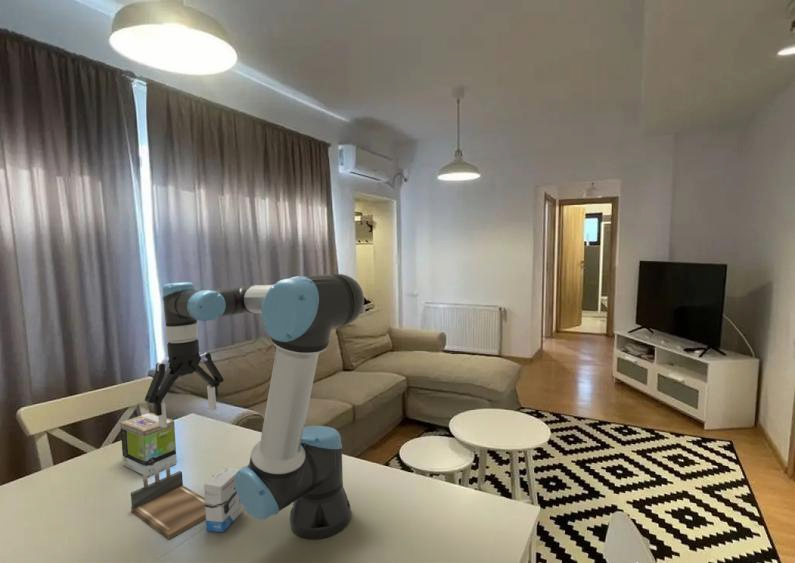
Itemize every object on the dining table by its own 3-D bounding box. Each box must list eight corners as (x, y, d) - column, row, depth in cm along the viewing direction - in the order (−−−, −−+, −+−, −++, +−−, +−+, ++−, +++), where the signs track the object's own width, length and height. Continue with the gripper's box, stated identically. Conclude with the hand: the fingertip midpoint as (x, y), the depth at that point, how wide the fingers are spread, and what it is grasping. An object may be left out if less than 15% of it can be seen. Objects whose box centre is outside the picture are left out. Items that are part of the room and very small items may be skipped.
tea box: (178, 463, 136) (175, 419, 134) (146, 478, 127) (142, 431, 126) (153, 452, 144) (150, 410, 142) (122, 465, 135) (118, 421, 134)
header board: (219, 511, 110) (217, 477, 109) (168, 539, 99) (166, 502, 99) (180, 487, 121) (178, 457, 121) (131, 511, 111) (128, 477, 110)
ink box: (223, 533, 101) (220, 486, 100) (205, 531, 102) (202, 485, 101) (243, 511, 109) (240, 468, 108) (226, 509, 110) (223, 466, 110)
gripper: (218, 331, 124) (223, 400, 125) (125, 348, 104) (132, 431, 105) (232, 332, 120) (238, 405, 121) (138, 351, 99) (146, 437, 101)
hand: (189, 417), depth 113 cm, fingers open, 13 cm apart
